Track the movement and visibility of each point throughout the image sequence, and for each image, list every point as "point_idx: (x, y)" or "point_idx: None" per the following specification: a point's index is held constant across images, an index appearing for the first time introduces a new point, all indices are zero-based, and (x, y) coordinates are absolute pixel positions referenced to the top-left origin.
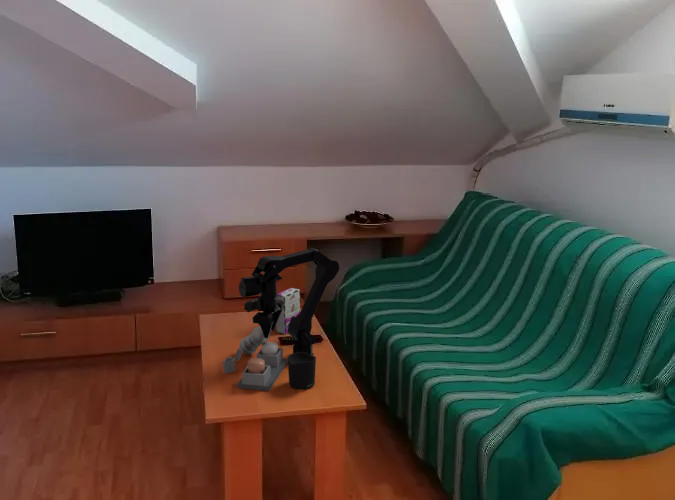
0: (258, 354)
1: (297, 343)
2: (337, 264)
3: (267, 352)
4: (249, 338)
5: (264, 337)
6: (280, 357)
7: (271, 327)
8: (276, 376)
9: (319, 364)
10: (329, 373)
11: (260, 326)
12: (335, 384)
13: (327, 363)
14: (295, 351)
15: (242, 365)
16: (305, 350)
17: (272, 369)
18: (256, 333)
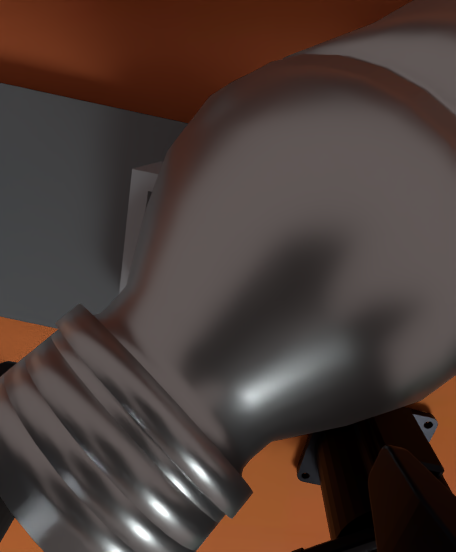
0: (136, 190)
1: (362, 514)
2: None
3: None
4: (379, 20)
5: (2, 363)
6: None
7: (402, 511)
8: (5, 313)
9: (251, 508)
10: None
11: (376, 328)
12: (27, 548)
13: (263, 539)
14: (359, 439)
15: (235, 19)
16: (325, 510)
17: (92, 287)
18: (155, 198)
